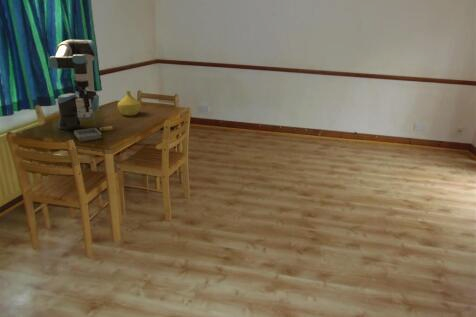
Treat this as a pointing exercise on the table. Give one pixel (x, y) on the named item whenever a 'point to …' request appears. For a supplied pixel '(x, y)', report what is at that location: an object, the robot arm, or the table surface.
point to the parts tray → (87, 134)
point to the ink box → (81, 109)
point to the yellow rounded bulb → (129, 105)
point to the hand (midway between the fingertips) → (85, 115)
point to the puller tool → (106, 128)
